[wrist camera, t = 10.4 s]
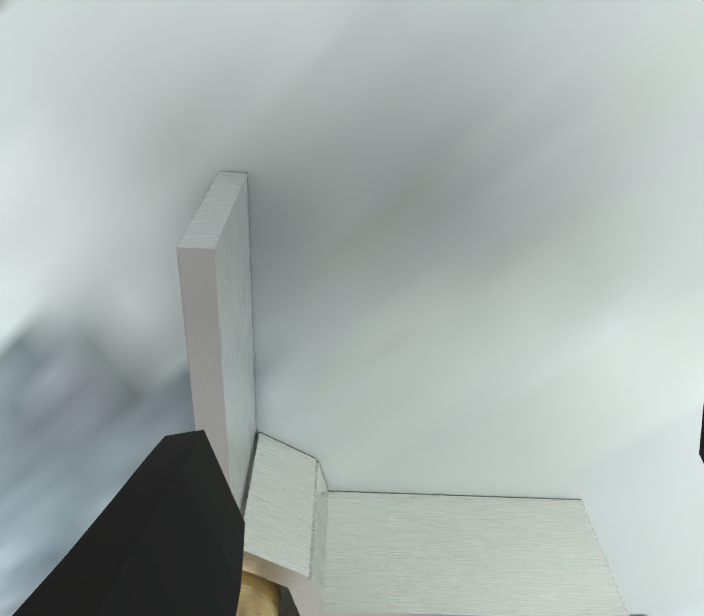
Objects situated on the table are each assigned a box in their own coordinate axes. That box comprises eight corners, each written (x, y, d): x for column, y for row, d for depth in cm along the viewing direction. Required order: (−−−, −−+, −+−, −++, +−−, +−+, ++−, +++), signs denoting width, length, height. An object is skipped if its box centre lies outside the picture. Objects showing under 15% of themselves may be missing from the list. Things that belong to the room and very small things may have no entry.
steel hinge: (565, 97, 17) (639, 154, 13) (582, 513, 25) (630, 634, 21) (20, 213, 18) (-79, 299, 14) (204, 568, 27) (175, 689, 22)
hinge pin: (293, 451, 23) (270, 658, 17) (312, 522, 25) (298, 731, 19) (188, 462, 24) (125, 670, 17) (215, 531, 26) (169, 740, 19)
